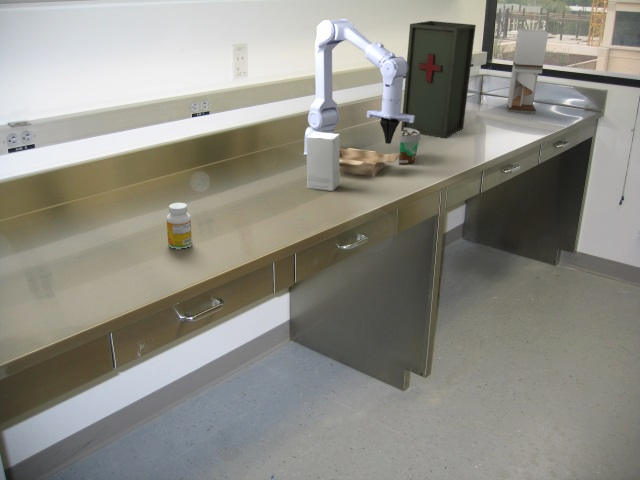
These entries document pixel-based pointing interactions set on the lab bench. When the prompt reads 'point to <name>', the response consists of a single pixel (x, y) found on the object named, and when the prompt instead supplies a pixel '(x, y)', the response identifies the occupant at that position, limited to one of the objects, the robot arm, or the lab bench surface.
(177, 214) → the supplement bottle
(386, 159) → the flap
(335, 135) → the skincare box
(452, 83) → the first aid box
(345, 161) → the flap
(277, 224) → the lab bench surface
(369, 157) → the carton
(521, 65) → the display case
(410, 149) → the food container
